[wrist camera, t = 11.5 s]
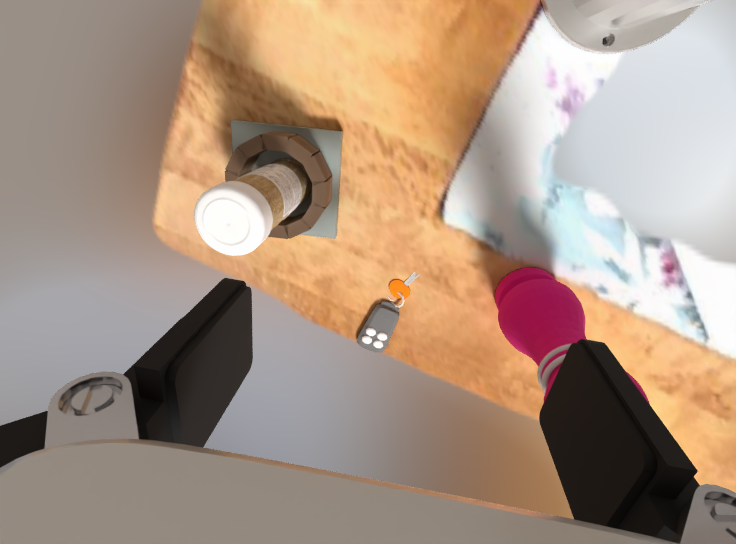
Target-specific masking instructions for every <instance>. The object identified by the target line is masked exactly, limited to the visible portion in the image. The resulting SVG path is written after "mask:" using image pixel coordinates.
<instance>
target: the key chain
mask: <svg viewBox="0 0 736 544" xmlns="http://www.w3.org/2000/svg"><path fill="white" fill-rule="evenodd" d="M414 274H415V273H413V274H412V275H411V276H410V277H409V278H408V279H407V280H406V281H405V282H404V283H403V281H401V280H393V281H391V283H390V284H389V289H390V292H391V293H392V294H393V296H395V297H396V298H400V299H402V303H401V304H399V305H396V304H394V303H393V302H388V301H382V302H381V304H377V305H376V307H375V308H374V309H373V311H372V312H371V314H370V316H369V317H368V319H367V321H366V323H365V324H364V326H363V328H362V330H361V331H360V333H359V335H358V339H357V343H358V344H359V345H360V346H361V347H363V348H366V349H368V350H371V351H373V352H383V351H384V350H385V349H386V346H387V344H388V342H389V340H390V338H391V335H392V333H393V331H394V328H395V326H396V324H397V322H398V318H399V312H398V310H399V307H401V306H402V305H403V304H404V299H405V298H407V297H408V296H409V295H410V289H409V287H408V286H409V285H410V284H411V283H412V282H413V281H414V280H415V278H416V277H417V276H419V274H418V275H417V276H416V275H414ZM388 299H389V300H391V301H393V300H394V299H390V298H389V296H388Z"/></svg>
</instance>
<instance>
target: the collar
mask: <svg viewBox="0 0 736 544" xmlns="http://www.w3.org/2000/svg"><path fill="white" fill-rule="evenodd" d="M231 136H232V153H233V155H232V157H231V159H230V161H229V163H228V165H227V167H226V171H225V180H226V182H227V181H234V180H236V179H238V178H239V177H241V176H243V175H245V174H248V173H250V172H252V171H254V170H256V169H259V168H261V167H263V166H265V165H268V164H271V163H272V162H274V161H275V160H278V159H282V158H288V159H292V160H295V161H297V162H299V163H300V164H301V165H302V166H304V168H305V170H306V172H307V174H308V176H309V178H310V182H311V188H310V192H309V195H308V197H307V198H306V199H305V200H304V202H302V203H301V204H299V205H298V206H297V207H296V209H295V210H293V211H292V212H291V213H290V214H289V215H288V216H287V217H286V218H285V219H284V220H282V221H281V222H280V223H279V224H278V225H277V226H276V227H274V228H273V229H272V230H271V231H270V234H269V235H268V237H276V238H284V239H288V238H292V237H295V236H297V235H308V236H316V237H325V238H333V239H335V238H336V236H337V224H338V206H339V189H340V172H341V155H342V137H343V131H337V130H328V129H318V128H308V127H299V126H289V125H279V124H270V123H260V122H250V121H241V120H231Z"/></svg>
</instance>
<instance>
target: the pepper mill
mask: <svg viewBox="0 0 736 544" xmlns="http://www.w3.org/2000/svg"><path fill="white" fill-rule="evenodd" d="M495 302H496V305H497V308H498V310H499V312H498V320H499V325H500V328H501V330H502V332H503V334H504V335H505V337H506V339H507V340H508V341H509V342H510V343H511V344H512V345H513V346H514V347H515V348H516V349H517V350H519V351H520V352H522V353H524V354H526V355H528V356H529V357H531V358H532V359H533V360H534V361H535V362H536V364H537V365H538V374H537V375H538V381H539V383H540V385H541V387H542V389H543V392H544V394H545V396H544V402H545V400H546V398H547V395H548V393H549V391H550V389H551V387H552V384H553V382H554V380H555V378H556V375H557V373H558V371H559V369H560V367H561V364H562V362H563V360H564V358H565V356H566V353H567V351H568V349H569V347H570V345H571V344H572V343H577V342H578V341H579V340H580V339H585V340H587V339H586V337H585V315H584V311H583V308H582V305H581V303H580V301H579V300H578V298H577V297H576V295H575V294H574V293H573V291H572V290H571V289H570V288H568V287H567V286H566V285H564V284H562V283H560V282H557V281H556V280H555V278H554V277H553V276H552V275H551V274H549V273H548V272H546V271H544V270H542V269H539V268H531V267H528V268H521V269H518V270H515V271H513V272H511V273H510V274H508V275H507V276H506V277H504V278H503V279H502V281H501V282H500V283H499V285H498V287H497V289H496V293H495ZM625 372H626V371H625ZM626 373H627V372H626ZM627 374H628V376H629V377H630V378H631V380H632V381H633V383H634V384H635V385H636V387H637V388H638V389H639V391H640V392H641V394H642V395H643V396H644V398H645V399H646V401H647V402H648V403H649V401H648V399H647V396H646V394H645V393H644V391H643V389H642V388H641V386H640V385H639V383H638V382H637V381H636V380H635V379H634V378H633V377H632V376H631V375H630V374H629V373H627ZM649 405H650V404H649Z"/></svg>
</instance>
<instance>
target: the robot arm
mask: <svg viewBox="0 0 736 544" xmlns="http://www.w3.org/2000/svg"><path fill="white" fill-rule="evenodd" d="M709 1H713V0H541V2H542V6H543V9H544V12H545V14H546V16H547V18H548V20H549V21H550V23H551V25H552V27H553V28H554V29H555V30H556V31H557V32H558V33H559V35H560V36H561V37H562V38H563V39H565V40H566V41H568V42H569V43H571V44H572V45H573V46H575V47H578V48H580V49H583V50H585V51H588V52H594V53H601V54H608V53H621V52H625V51H629V50H634V49H637V48H640V47H642V46H645V45H648V44H651V43H652V42H654V41H656V40H658V39H660V38H662V37H663V36H665V35H667V34H669V33H670V32H671V31H672V30H674V29H675V28H676V27H678V26H679V25H680V24H681V23H683V22H684V21H685V20H686V19H687V18H688V17H689V16H690V15H691V14H692V13H693V12H694V11H695V10H696V9H697V8H698V7H699V6H700V5H701V4H704V3H707V2H709ZM603 38H605V39H606V43H605V45H603V43H602V40H603ZM251 296H252V294H251V288H250V287H247V286H246V283H245V282H244V281H240V280H234V279H228V278H224V279H223V280H221V281H220V282H219V283H218V284H217V285H216V286H215V287H214V288H213V289H212V290H211V291H210V292H209V293H208V294H207V295H206V296H205V297H204V298H203V299H202V300H201V301H200V302H199V303H198V304H197V305H196V306H195V307H194V308H193V309H192V310H191V311H190V312H189V313H188V314H187V315H186V316H184V317H183V318H182V319H180V320H179V321H178V322H177V323H176V324H175V325H174V326H173V327H172V328H171V329H170V330H169V331H168V332H167V333H166V334H165V335H164V336H163V337H162V338H160V340H158V341H157V342H156V343H155V344H154V345H153V346H152V347H151V348H150V349H149V350H148V351H147V352H146V353H145V354H144V355H143V356H142V357H141V358H140V359H139V360H138V361H137V362H136V363H135V364H134V365H133V366H132V367H131V368H129V369H128V370H127V371H126V372H125V373H124V374H119V373H116V372H98V373H92V374H89V375H86V376H82V377H79V378H77V379H75V380H73V381H71V382H70V383H67V384H66V385H65V386H64V387H62V388H61V389H59V390H58V391H57V392H56V393H55V395H54V396H53V397H52V398H51V401H50V403H49V406H48V411H45V412H42V413H39V414H36V415H33V416H30V417H26V418H23V419H20V420H17V421H14V422H11V423H8V424H5V425H2V426H0V544H736V493H735V492H733V491H731V490H729V489H726V488H723V487H720V486H717V485H709V484H705V485H701V486H700V485H699V484H698V482H697V481H696V480H695V478H694V475H695V474H696V473H697V472H698V471H697V469H696V468H695V467H694V465H693V464H692V463H691V461H690V460H689V458H688V457H687V456H686V454H685V453H684V451H683V450H682V449H681V447H680V446H679V445H678V443H677V442H676V440H675V439H674V438H673V436H672V435H671V434H670V432H669V431H668V429H667V428H666V427H665V425H664V424H663V423H662V421H661V420H660V418H659V417H658V416H657V414H656V413H655V412H654V410H653V409H652V407H651V406H650V405H649V403H648V402H647V401H646V399H645V398H644V396H643V395H642V394H641V392H640V391H639V389H638V388H637V387H636V385H635V384H634V383H633V381H632V380H631V378H630V377H629V376H628V374H627V373H626V372H625V370H624V369H623V367H622V366H621V365H620V363H619V362H618V361H617V359H616V358H615V356H614V355H613V354H612V352H611V351H610V350H609V348H608V347H607V345H606V344H605V343H602V342H597V341H591V340H585V339H580V340H579V341H578V342H577V343H572V344H571V345H570V347H569V349H568V351H567V353H566V356H565V358H564V360H563V362H562V364H561V367H560V369H559V371H558V373H557V375H556V378H555V380H554V382H553V384H552V387H551V389H550V391H549V393H548V395H547V398H546V400H545V402H544V404H543V406H542V409H541V411H540V417H539V419H540V425H541V428H542V430H543V433H544V436H545V439H546V442H547V444H548V447H549V450H550V453H551V456H552V458H553V461H554V464H555V467H556V469H557V472H558V475H559V478H560V480H561V483H562V486H563V489H564V492H565V495H566V497H567V500H568V503H569V506H570V509H571V511H572V514H573V517H574V519H569V518H563V517H559V516H554V515H549V514H544V513H539V512H534V511H529V510H525V509H520V508H515V507H510V506H505V505H500V504H495V503H490V502H485V501H480V500H475V499H470V498H465V497H460V496H455V495H450V494H445V493H440V492H434V491H430V490H425V489H419V488H415V487H410V486H404V485H399V484H394V483H389V482H384V481H378V480H374V479H369V478H363V477H358V476H353V475H348V474H343V473H338V472H333V471H327V470H322V469H317V468H311V467H306V466H301V465H295V464H290V463H285V462H280V461H275V460H269V459H264V458H259V457H254V456H248V455H243V454H237V453H231V452H225V451H220V450H214V449H208V448H203V447H204V445H205V443H206V441H207V440H208V438H209V436H210V435H211V433H212V432H213V430H214V428H215V427H216V425H217V423H218V422H219V420H220V418H221V417H222V415H223V413H224V412H225V410H226V408H227V407H228V405H229V403H230V402H231V400H232V398H233V397H234V395H235V393H236V392H237V390H238V389H239V387H240V385H241V384H242V382H243V380H244V378H245V377H246V375H247V373H248V372H249V370H250V368H251V364H252V358H253V355H252V354H253V352H252V298H251Z"/></svg>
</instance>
